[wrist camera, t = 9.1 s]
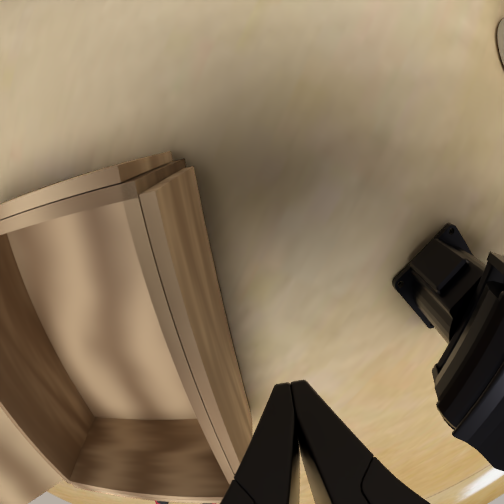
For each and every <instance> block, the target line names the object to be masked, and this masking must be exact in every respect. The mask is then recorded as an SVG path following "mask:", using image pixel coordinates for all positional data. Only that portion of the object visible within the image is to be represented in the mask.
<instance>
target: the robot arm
mask: <svg viewBox="0 0 504 504" xmlns="http://www.w3.org/2000/svg"><path fill="white" fill-rule="evenodd" d="M450 229H452V230H451V232H450V233H449V230H450ZM487 260H488V262H487V265H485V264H484V263H482V262H481V261H479V260H478V259H477V258H475V257H474V256H473V255H472V253H471V251H470V250H469V248H468V246H467V244H466V243H465V241H464V239H463V237H462V236H461V234H460V232H459V231H458V229H457V228H456V226H455V225H453V224H451V223H449V224H447V225H446V226H445V227H444V228H443V229H442V230H441V231H440V232H439V233H438V234H437V235H436V237H435V238H434V239H432V240H431V241H430V242H429V244H428V245H427V246H426V247H425V248H424V249H423V250H422V251H421V252H420V253H419V254H418V255H417V256H416V257H415V258H414V259H413V260H412V261H411V263H410V264H409V265H408V266H407V267H406V268H405V269H404V270H402V271H401V272H400V273H399V274H398V275H397V276H396V277H395V278H394V280H393V286H394V288H395V289H396V290H397V291H398V292H399V293H400V295H401V296H402V297H403V298H404V299H405V300H406V302H407V303H408V304H409V305H410V306H411V307H412V309H413V310H414V311H415V312H416V313H417V315H418V316H419V317H420V318H421V319H422V321H423V322H424V323H425V324H426V325H427V327H428V328H434V327H435V328H436V329H437V331H438V332H439V333H440V334H441V336H442V337H443V338H444V339H445V341H446V342H447V343H448V346H447V348H446V350H445V352H444V353H443V355H442V357H441V358H440V360H439V362H438V363H437V364H435V366H434V368H433V369H432V374H433V378H434V383H435V390H436V394H437V397H438V402H437V404H436V405H437V409H438V410H439V412H440V413H441V415H442V417H443V419H444V420H445V422H446V423H447V424H448V425H449V426H450V427H451V428H452V429H453V430H454V431H453V432H452V435H453V436H454V437H456V438H458V439H460V440H462V441H465V442H467V443H468V444H469V445H471V446H472V447H474V448H475V449H477V450H478V451H479V452H480V453H481V454H482V455H483V456H484V457H485V458H486V459H487V461H488V462H489V463H490V464H491V465H492V466H493V467H494V468H496V469H498V470H502V471H504V256H501V255H499V254H496V253H493V252H490V253H489V255H488V258H487ZM400 281H401V284H399V285H398V283H399V282H400ZM298 441H299V442H298ZM299 447H300V451H299ZM300 453H301V457H302V460H303V464H304V467H305V471H306V474H307V477H308V481H309V484H310V487H311V491H312V494H313V497H314V501H315V504H430V503H429V502H427V501H426V500H425V499H423V498H422V497H420V496H419V495H418V494H416V493H415V492H414V491H412V490H411V489H410V488H408V487H407V486H406V485H405V484H403V483H402V482H401V481H400V480H398V479H397V478H396V477H395V476H394V475H393V474H392V473H391V472H390V471H389V470H388V469H387V468H386V467H385V466H384V465H383V464H382V463H381V462H380V461H379V460H378V459H377V458H376V457H373V456H374V455H373V454H372V453H371V452H370V451H369V450H368V449H367V448H366V446H365V445H364V444H363V443H362V442H361V441H360V440H359V439H358V438H357V437H356V436H355V435H354V434H353V432H352V431H351V430H350V429H349V428H348V427H347V426H346V425H345V424H344V423H343V421H342V420H341V419H340V418H339V417H338V416H337V415H336V414H335V413H334V412H333V410H332V409H331V408H330V407H329V406H328V405H327V404H326V403H325V401H324V400H323V399H322V398H321V397H320V396H319V395H318V394H317V392H316V391H315V390H314V389H313V388H312V387H311V386H310V384H309V383H308V382H307V381H306V380H299V381H293V382H291V385H290V383H288V382H287V383H280V384H276V385H275V386H274V388H273V390H272V393H271V395H270V398H269V400H268V402H267V405H266V407H265V409H264V412H263V414H262V416H261V419H260V421H259V423H258V425H257V428H256V430H255V432H254V435H253V437H252V439H251V441H250V443H249V446H248V448H247V450H246V452H245V454H244V456H243V459H242V461H241V463H240V465H239V467H238V469H237V471H236V473H235V476H234V480H232V481H231V483H230V486H229V488H228V490H227V492H226V493H225V495H224V497H223V499H222V501H221V502H220V504H299V494H300Z"/></svg>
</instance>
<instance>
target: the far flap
mask: <svg viewBox="0 0 504 504" xmlns="http://www.w3.org/2000/svg"><path fill="white" fill-rule="evenodd" d="M62 480H64V479H63V478H62V477H61V476H60V475H59V474H58V473H57V472H56V471H55V470H54V469H53V468H52V467H51V466H50V465H49V464H48V463H47V462H46V461H45V460H44V459H43V458H42V457H41V456H40V455H39V453H38V452H37V451H36V450H35V449H34V448H33V447H32V446H31V445H30V443H29V442H28V441H27V440H26V439H25V438H24V436H23V435H22V434H21V433H20V432H19V430H18V429H17V428H16V427H15V425H14V424H13V423H12V422H11V420H10V419H9V418H8V416H7V415H6V414H5V412H4V411H3V410H2V408H1V407H0V504H28V503H29V502H31V501H32V500H34V499H35V498H37V497H38V496H40V495H42V494H43V493H44V492H46V491H48V490H49V489H50V488H52V487H53V486H55V485H56V484H58V483H59V482H61V481H62Z"/></svg>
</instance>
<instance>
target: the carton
mask: <svg viewBox="0 0 504 504" xmlns="http://www.w3.org/2000/svg"><path fill="white" fill-rule="evenodd" d="M0 407H1V408H2V410H3V411H4V412H5V414H6V415H7V416H8V418H9V419H10V420H11V422H12V423H13V424H14V425H15V427H16V428H17V429H18V430H19V432H20V433H21V434H22V435H23V436H24V438H25V439H26V440H27V441H28V442H29V443H30V445H31V446H32V447H33V448H34V449H35V450H36V451H37V452H38V453H39V455H40V456H41V457H42V458H43V459H44V460H45V461H46V462H47V463H48V464H49V465H50V466H51V467H52V468H53V469H54V470H55V471H56V472H57V473H58V474H59V475H60V476H61V477H62V478H63V479H64V480H65V481H66V482H67V483H70V484H72V485H73V486H74V487H76V488H80V489H85V490H89V491H94V492H99V493H104V494H110V495H116V496H122V497H129V498H137V499H145V500H155V501H166V502H182V503H220V502H221V501H222V499H223V497H224V495H225V493H226V492H227V490H228V488H229V486H230V483H231V481H232V480H234V476H235V473H236V471H237V469H238V467H239V465H240V463H241V461H242V459H243V456H244V454H245V452H246V450H247V448H248V446H249V443H250V441H251V439H252V417H251V413H250V409H249V405H248V402H247V398H246V394H245V390H244V387H243V383H242V379H241V375H240V371H239V367H238V363H237V359H236V355H235V351H234V347H233V343H232V339H231V335H230V331H229V327H228V323H227V318H226V314H225V310H224V306H223V302H222V297H221V293H220V289H219V284H218V280H217V275H216V271H215V266H214V262H213V257H212V253H211V248H210V244H209V239H208V234H207V230H206V225H205V220H204V215H203V210H202V206H201V201H200V196H199V191H198V186H197V181H196V175H195V170H194V166H192V167H187V168H186V164H185V159H181V160H176V161H173V160H172V154H171V151H169V152H164V153H160V154H156V155H152V156H148V157H144V158H140V159H136V160H132V161H128V162H124V163H121V164H117V165H113V166H110V167H106V168H103V169H99V170H96V171H92V172H89V173H86V174H83V175H79V176H76V177H73V178H70V179H67V180H64V181H61V182H58V183H55V184H52V185H49V186H46V187H43V188H41V189H38V190H35V191H32V192H30V193H27V194H24V195H22V196H19V197H16V198H14V199H11V200H9V201H6V202H4V203H1V204H0Z"/></svg>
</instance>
